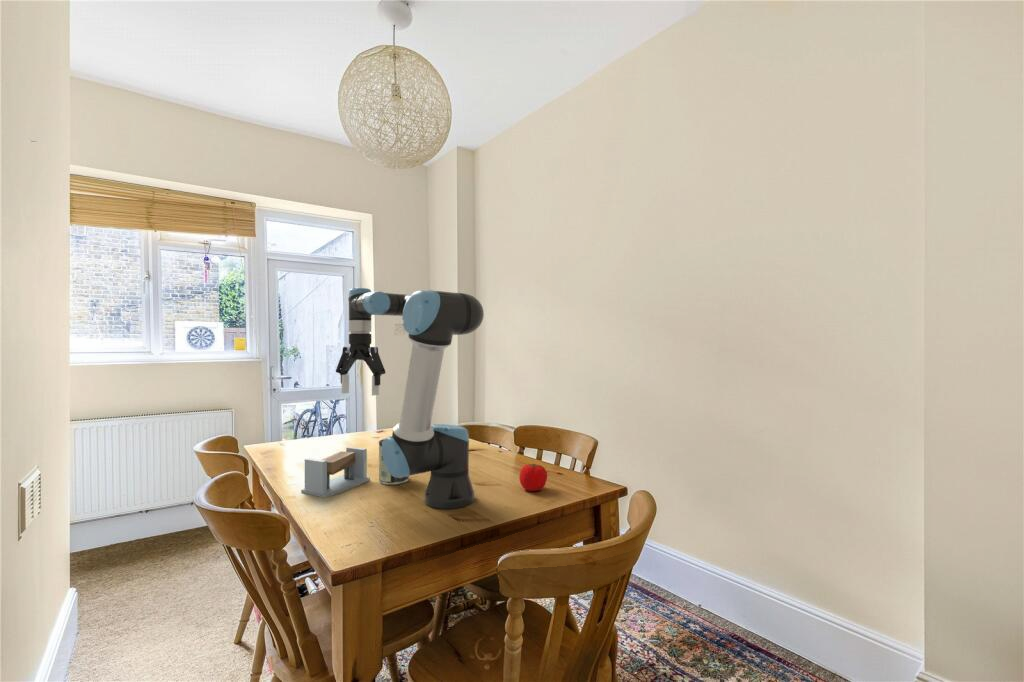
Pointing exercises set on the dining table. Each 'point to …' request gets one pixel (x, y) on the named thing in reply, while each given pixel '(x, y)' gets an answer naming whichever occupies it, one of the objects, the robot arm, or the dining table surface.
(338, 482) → the peg cradle
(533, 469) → the tomato
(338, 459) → the shelf board
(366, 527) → the dining table surface
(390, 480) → the coffee can
